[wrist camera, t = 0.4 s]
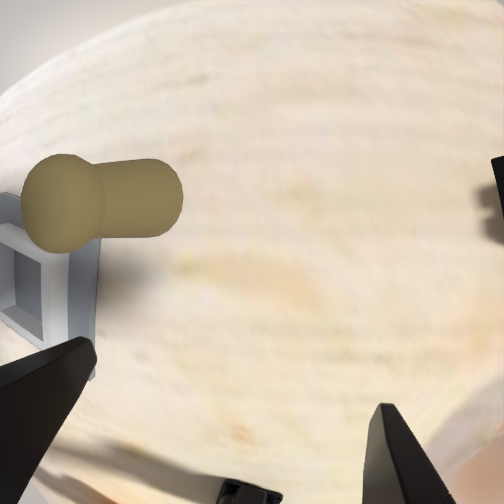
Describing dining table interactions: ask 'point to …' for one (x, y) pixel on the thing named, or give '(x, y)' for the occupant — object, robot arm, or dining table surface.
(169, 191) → the cork
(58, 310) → the socket plate
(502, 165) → the black bracket mount
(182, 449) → the dining table surface
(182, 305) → the dining table surface
